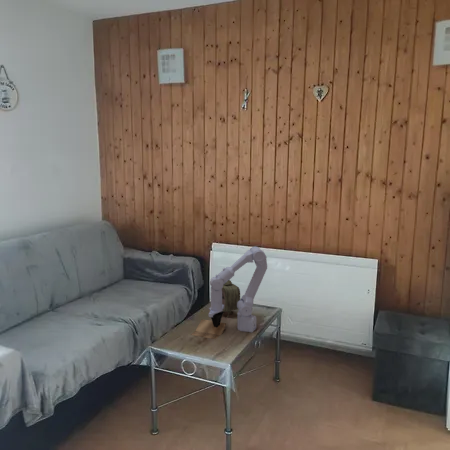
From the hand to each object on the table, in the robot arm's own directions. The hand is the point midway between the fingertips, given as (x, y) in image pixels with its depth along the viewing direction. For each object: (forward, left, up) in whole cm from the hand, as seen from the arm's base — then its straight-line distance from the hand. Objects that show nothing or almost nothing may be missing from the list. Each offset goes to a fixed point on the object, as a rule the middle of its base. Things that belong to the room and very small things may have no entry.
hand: (216, 326), depth 222 cm
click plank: (+3, 0, -2) cm, 3 cm away
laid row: (+3, +7, -4) cm, 9 cm away
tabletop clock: (+5, -26, -4) cm, 27 cm away
